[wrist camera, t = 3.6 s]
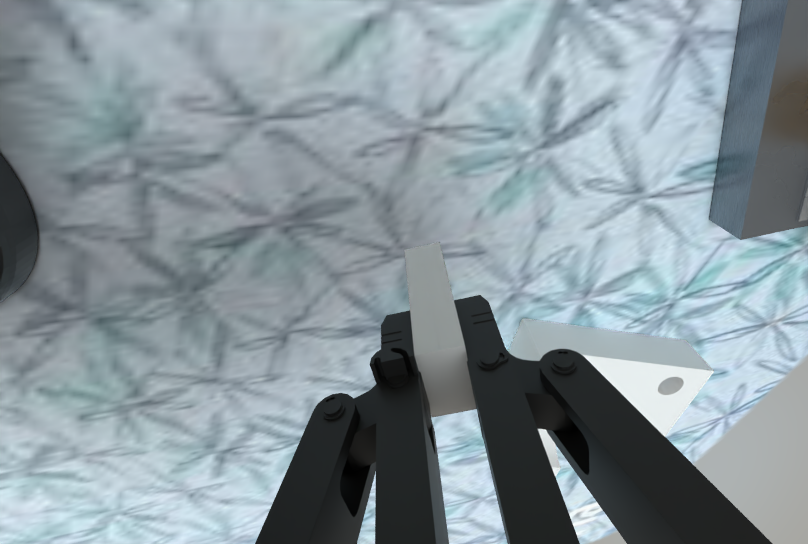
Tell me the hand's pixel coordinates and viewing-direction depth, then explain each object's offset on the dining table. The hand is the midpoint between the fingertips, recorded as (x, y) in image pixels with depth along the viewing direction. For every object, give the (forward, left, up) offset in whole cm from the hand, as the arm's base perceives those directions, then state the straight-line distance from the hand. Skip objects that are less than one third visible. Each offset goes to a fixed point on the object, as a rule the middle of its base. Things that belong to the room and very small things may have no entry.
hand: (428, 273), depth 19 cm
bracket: (+10, -16, -9) cm, 21 cm away
